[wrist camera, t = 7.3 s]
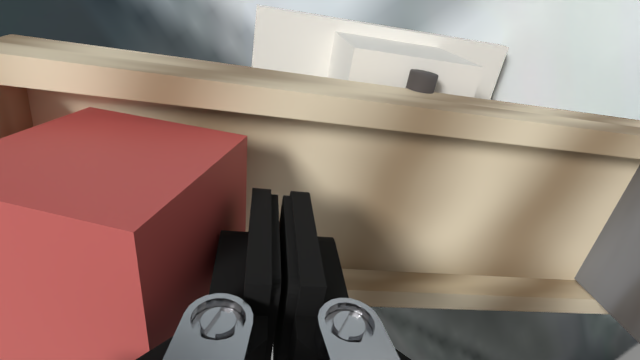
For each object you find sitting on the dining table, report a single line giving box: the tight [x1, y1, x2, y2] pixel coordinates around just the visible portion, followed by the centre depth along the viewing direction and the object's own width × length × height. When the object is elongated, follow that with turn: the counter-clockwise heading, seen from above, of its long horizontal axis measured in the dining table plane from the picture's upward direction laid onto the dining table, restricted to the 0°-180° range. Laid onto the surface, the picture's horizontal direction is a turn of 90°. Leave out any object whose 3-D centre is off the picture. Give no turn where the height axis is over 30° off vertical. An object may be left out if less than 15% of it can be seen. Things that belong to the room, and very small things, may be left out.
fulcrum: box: [252, 4, 509, 100], centre depth 19 cm, size 12×11×5 cm
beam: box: [0, 34, 640, 343], centre depth 13 cm, size 26×9×7 cm, turn 81°
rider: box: [0, 107, 247, 360], centre depth 10 cm, size 5×5×5 cm
